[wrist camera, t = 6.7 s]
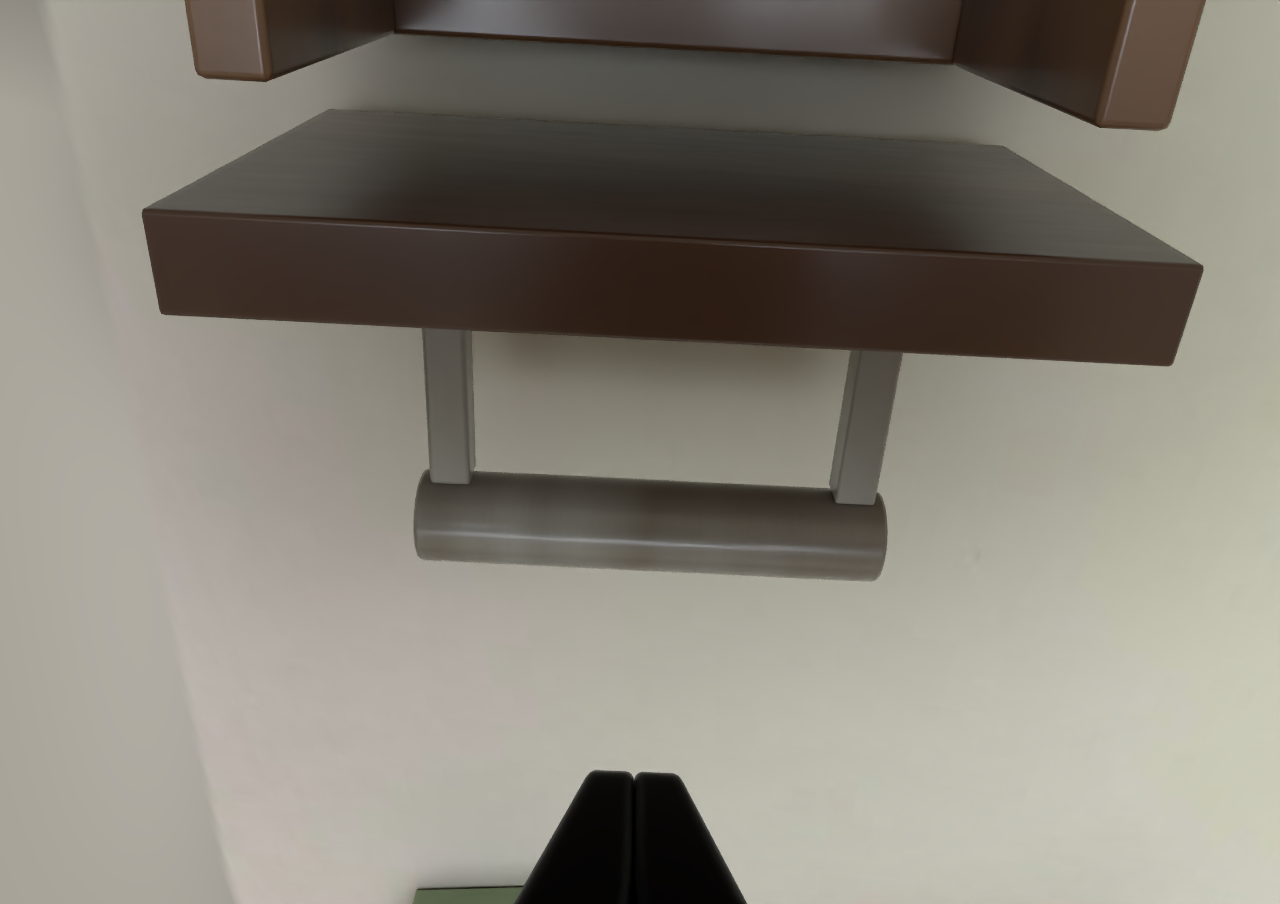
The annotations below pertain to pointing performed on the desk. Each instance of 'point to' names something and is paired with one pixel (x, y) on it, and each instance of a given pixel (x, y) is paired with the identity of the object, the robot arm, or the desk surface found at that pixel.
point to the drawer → (685, 243)
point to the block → (468, 896)
